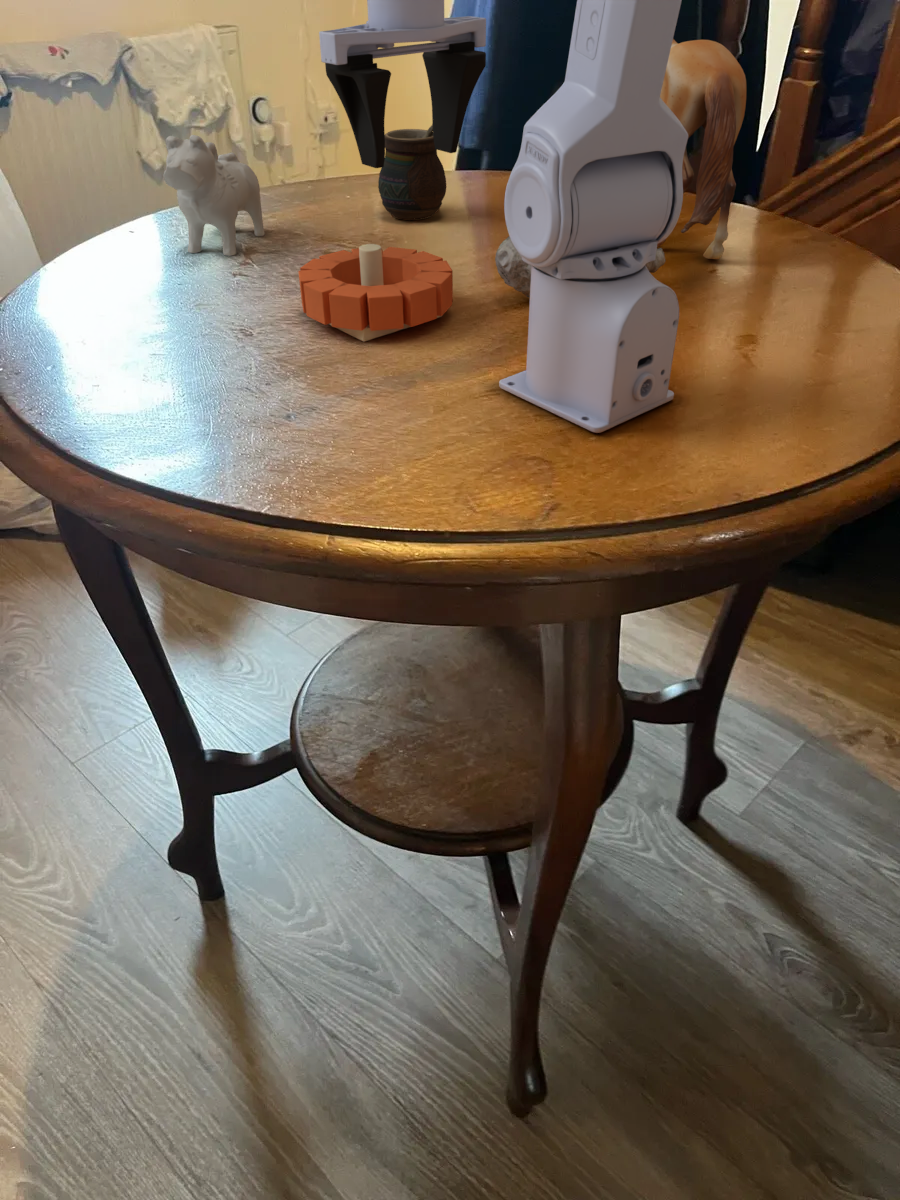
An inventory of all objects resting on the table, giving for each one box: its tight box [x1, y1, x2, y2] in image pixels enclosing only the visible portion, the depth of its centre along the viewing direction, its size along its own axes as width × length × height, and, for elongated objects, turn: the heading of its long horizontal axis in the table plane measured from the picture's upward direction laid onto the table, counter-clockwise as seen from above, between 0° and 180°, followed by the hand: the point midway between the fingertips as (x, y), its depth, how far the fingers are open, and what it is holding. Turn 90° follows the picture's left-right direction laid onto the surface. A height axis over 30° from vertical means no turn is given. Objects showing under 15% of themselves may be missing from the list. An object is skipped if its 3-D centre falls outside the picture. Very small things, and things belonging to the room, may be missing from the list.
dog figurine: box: [162, 134, 266, 257], centre depth 86 cm, size 5×13×11 cm, turn 165°
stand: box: [328, 243, 443, 343], centre depth 73 cm, size 8×8×6 cm
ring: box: [297, 246, 454, 331], centre depth 73 cm, size 12×12×3 cm
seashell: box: [494, 235, 667, 299], centre depth 76 cm, size 6×14×8 cm, turn 95°
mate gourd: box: [377, 123, 447, 221], centre depth 94 cm, size 7×8×10 cm
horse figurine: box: [657, 38, 747, 260], centre depth 85 cm, size 31×8×21 cm, turn 13°
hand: (410, 158), depth 73 cm, fingers open, 7 cm apart
